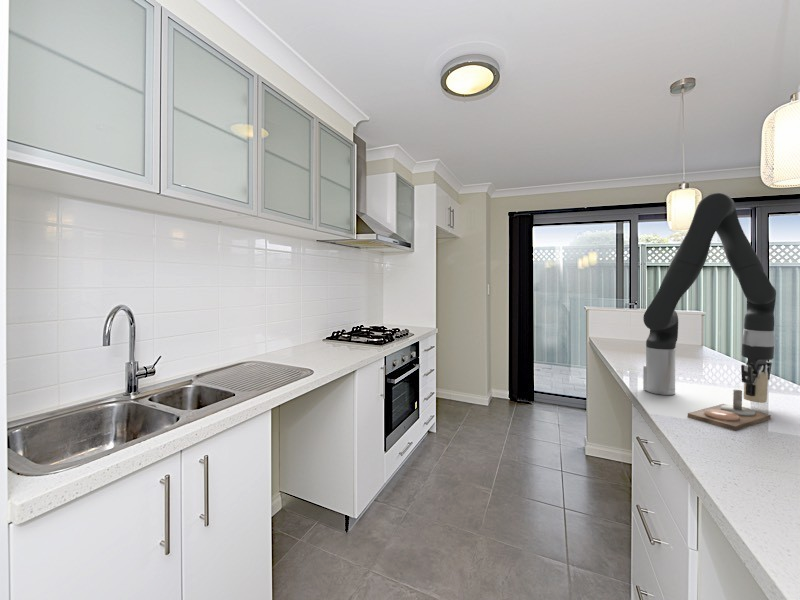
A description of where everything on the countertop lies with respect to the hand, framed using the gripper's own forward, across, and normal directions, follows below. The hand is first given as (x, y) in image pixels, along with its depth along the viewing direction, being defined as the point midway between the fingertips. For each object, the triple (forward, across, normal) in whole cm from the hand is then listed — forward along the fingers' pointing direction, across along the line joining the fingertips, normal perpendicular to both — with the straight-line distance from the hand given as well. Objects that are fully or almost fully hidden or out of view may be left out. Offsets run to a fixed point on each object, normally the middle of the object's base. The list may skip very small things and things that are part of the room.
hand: (755, 394), depth 120 cm
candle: (+2, 0, 0) cm, 2 cm away
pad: (+4, +21, 0) cm, 21 cm away
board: (+5, +17, +1) cm, 18 cm away
